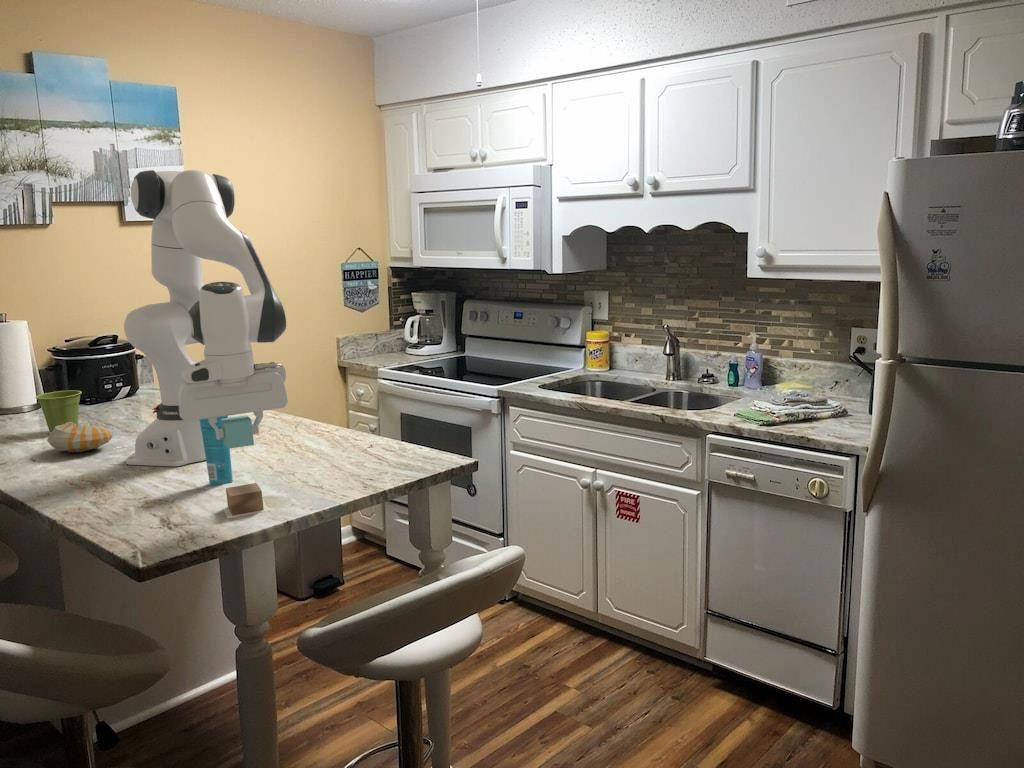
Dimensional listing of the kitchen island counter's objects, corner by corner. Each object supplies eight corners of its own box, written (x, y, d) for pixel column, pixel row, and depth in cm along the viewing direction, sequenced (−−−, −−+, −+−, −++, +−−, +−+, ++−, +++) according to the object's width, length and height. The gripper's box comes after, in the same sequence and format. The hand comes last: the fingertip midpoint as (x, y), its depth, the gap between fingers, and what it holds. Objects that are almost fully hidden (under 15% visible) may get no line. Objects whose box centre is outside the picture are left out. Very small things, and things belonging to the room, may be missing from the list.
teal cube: (227, 448, 161) (224, 423, 160) (223, 443, 166) (221, 418, 165) (254, 444, 163) (251, 419, 162) (249, 439, 168) (247, 415, 167)
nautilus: (42, 449, 227) (102, 441, 235) (52, 460, 209) (117, 451, 218) (39, 420, 226) (100, 413, 235) (49, 429, 209) (114, 421, 217)
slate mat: (199, 522, 162) (198, 519, 162) (224, 502, 174) (223, 499, 173) (269, 521, 161) (269, 518, 161) (289, 500, 173) (289, 497, 172)
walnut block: (232, 515, 163) (230, 496, 162) (227, 507, 168) (225, 488, 168) (263, 510, 166) (261, 490, 165) (258, 501, 171) (256, 482, 170)
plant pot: (81, 434, 239) (76, 396, 237) (36, 438, 236) (29, 400, 234) (91, 425, 250) (86, 388, 248) (48, 429, 248) (42, 392, 246)
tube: (241, 479, 189) (231, 396, 185) (233, 486, 184) (223, 401, 180) (208, 480, 189) (199, 397, 185) (200, 487, 184) (189, 402, 181)
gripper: (281, 358, 169) (287, 425, 171) (173, 370, 160) (181, 440, 163) (287, 362, 163) (294, 431, 166) (176, 375, 154) (185, 447, 157)
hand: (237, 436), depth 164 cm, fingers closed on teal cube, 5 cm apart
